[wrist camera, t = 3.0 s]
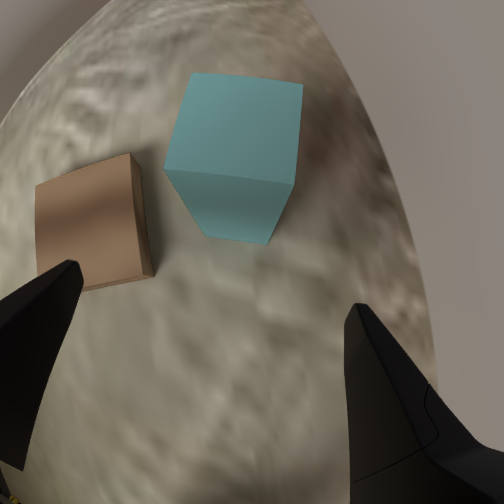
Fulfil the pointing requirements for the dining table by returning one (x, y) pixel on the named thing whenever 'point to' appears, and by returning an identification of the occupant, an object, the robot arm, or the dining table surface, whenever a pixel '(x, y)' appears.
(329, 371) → the dining table surface
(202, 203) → the tall block
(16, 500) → the diorama
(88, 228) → the base brick
